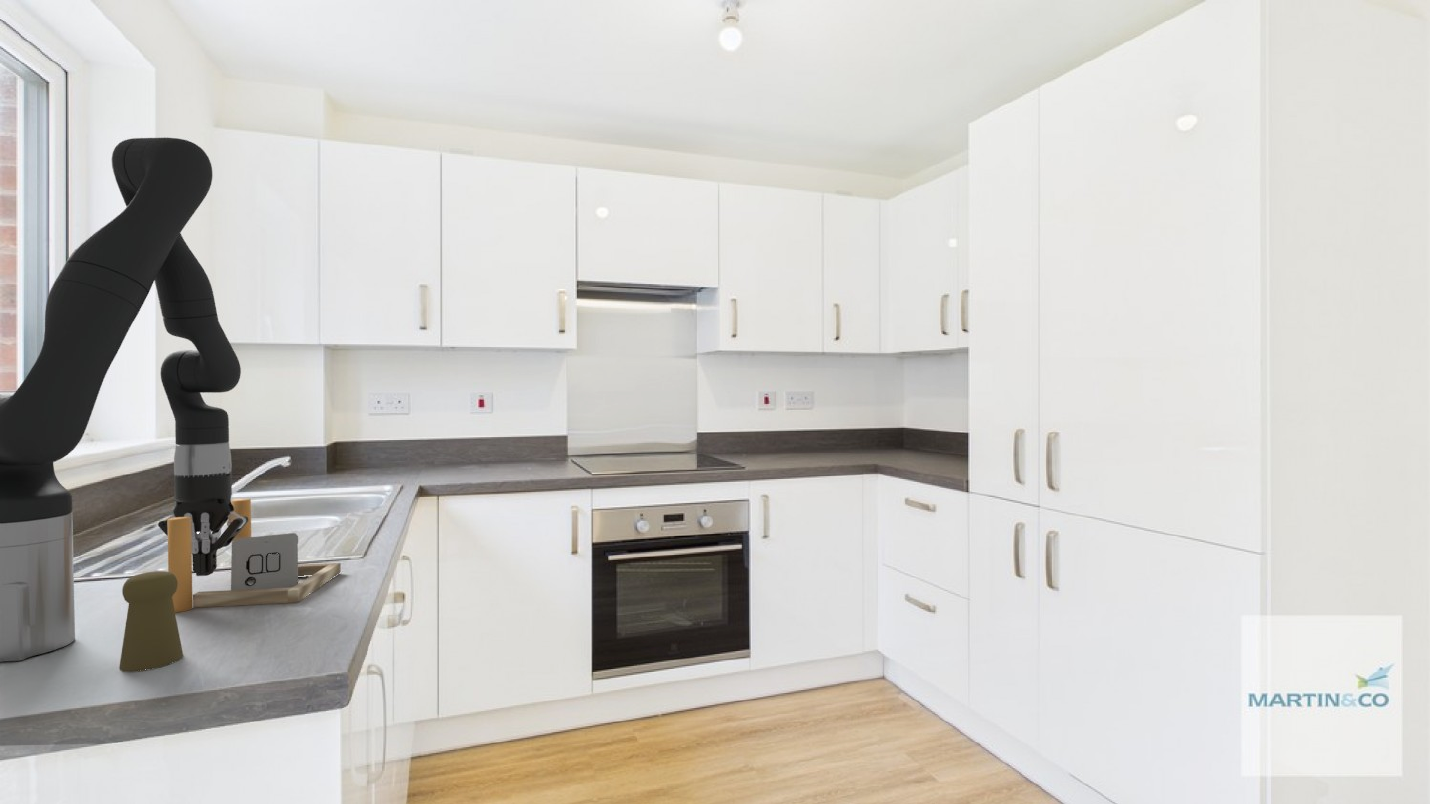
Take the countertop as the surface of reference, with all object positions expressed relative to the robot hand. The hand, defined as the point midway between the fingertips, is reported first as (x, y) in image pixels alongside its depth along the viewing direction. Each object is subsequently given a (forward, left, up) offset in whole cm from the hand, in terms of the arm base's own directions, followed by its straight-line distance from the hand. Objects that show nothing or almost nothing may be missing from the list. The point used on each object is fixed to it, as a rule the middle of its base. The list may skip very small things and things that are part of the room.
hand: (205, 574), depth 110 cm
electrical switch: (+1, -9, -3) cm, 9 cm away
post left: (-9, -2, -3) cm, 9 cm away
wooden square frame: (0, -10, -3) cm, 10 cm away
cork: (-30, -11, -3) cm, 32 cm away
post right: (+8, -2, -3) cm, 9 cm away
